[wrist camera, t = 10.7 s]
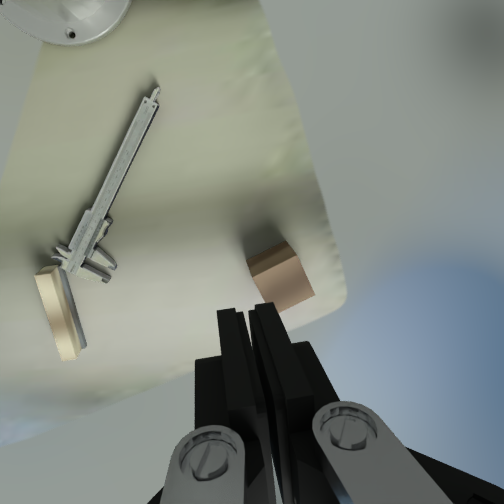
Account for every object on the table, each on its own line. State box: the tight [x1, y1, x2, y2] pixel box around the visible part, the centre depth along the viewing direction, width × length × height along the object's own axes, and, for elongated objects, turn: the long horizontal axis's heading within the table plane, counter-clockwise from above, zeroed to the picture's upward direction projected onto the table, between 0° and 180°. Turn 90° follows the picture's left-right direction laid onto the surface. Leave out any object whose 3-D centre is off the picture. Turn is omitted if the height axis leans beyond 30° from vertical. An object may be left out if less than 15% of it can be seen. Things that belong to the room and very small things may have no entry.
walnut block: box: [246, 241, 315, 313], centre depth 40 cm, size 5×5×5 cm
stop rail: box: [35, 264, 87, 361], centre depth 39 cm, size 10×2×2 cm, turn 6°
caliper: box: [51, 87, 160, 284], centre depth 36 cm, size 20×1×6 cm
